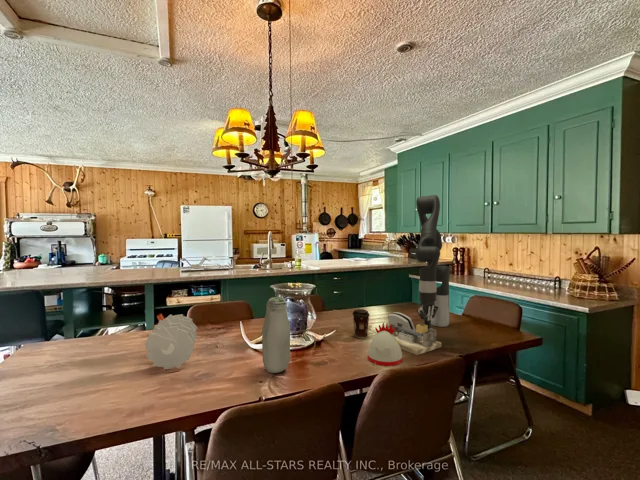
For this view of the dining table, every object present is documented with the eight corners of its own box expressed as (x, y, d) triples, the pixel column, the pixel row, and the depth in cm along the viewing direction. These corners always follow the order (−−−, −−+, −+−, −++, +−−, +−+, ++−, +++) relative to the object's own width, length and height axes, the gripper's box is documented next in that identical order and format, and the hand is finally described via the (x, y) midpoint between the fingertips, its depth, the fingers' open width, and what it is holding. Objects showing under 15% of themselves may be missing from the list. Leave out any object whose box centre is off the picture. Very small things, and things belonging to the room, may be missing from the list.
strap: (397, 327, 159) (397, 324, 159) (426, 335, 145) (426, 333, 145) (393, 328, 157) (393, 325, 157) (421, 337, 143) (421, 334, 143)
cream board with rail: (403, 334, 165) (403, 319, 165) (441, 346, 147) (441, 330, 147) (379, 340, 155) (379, 325, 155) (416, 355, 137) (417, 337, 137)
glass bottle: (278, 379, 115) (278, 301, 114) (257, 372, 120) (256, 297, 120) (295, 369, 123) (295, 296, 123) (274, 363, 129) (274, 293, 128)
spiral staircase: (187, 358, 145) (180, 380, 121) (147, 344, 140) (132, 364, 116) (205, 319, 147) (202, 333, 123) (167, 305, 143) (156, 316, 119)
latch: (421, 330, 147) (422, 321, 147) (427, 331, 145) (427, 323, 145) (416, 331, 145) (416, 323, 145) (421, 333, 143) (421, 324, 143)
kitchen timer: (400, 368, 124) (400, 329, 124) (364, 363, 129) (364, 325, 129) (403, 355, 138) (403, 320, 137) (371, 351, 142) (371, 317, 142)
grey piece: (418, 332, 168) (413, 315, 166) (411, 336, 166) (406, 319, 164) (396, 324, 183) (391, 308, 181) (390, 328, 181) (385, 312, 179)
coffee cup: (350, 337, 160) (350, 311, 159) (354, 333, 167) (354, 308, 167) (367, 340, 156) (367, 313, 156) (371, 335, 164) (371, 309, 164)
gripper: (429, 287, 153) (429, 323, 154) (411, 290, 146) (411, 328, 146) (443, 289, 147) (443, 327, 148) (425, 293, 140) (425, 333, 140)
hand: (427, 328), depth 147 cm, fingers closed
